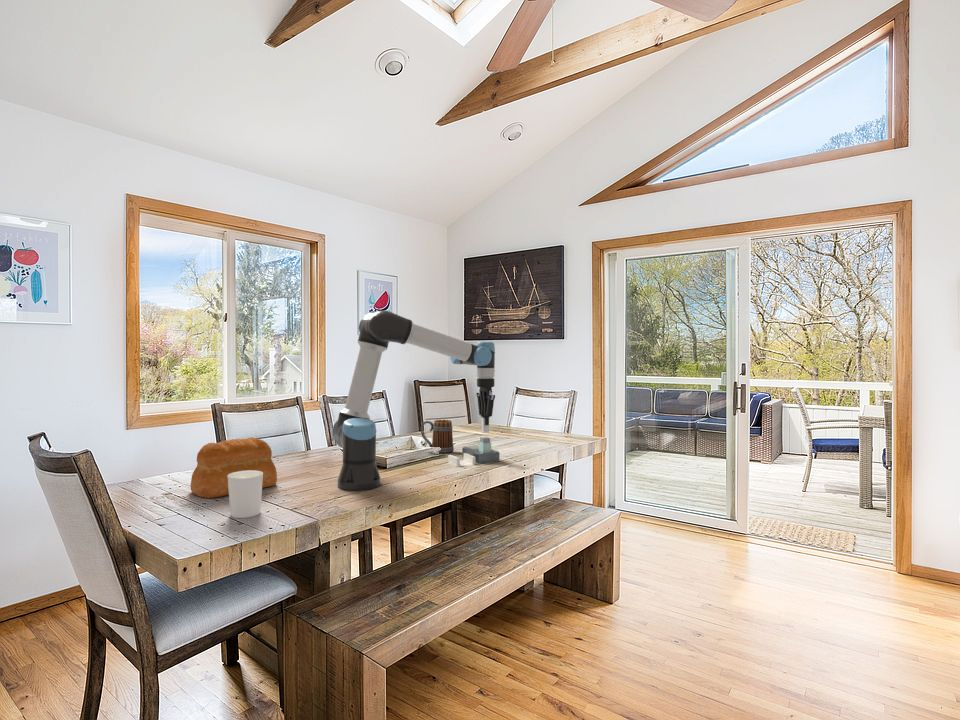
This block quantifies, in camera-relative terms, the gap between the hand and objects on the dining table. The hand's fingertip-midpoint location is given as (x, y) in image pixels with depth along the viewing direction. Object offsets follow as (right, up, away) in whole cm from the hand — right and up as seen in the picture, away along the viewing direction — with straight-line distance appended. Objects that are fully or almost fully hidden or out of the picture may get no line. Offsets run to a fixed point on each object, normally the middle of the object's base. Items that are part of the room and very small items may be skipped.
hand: (485, 432), depth 234 cm
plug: (0, -13, 0) cm, 13 cm away
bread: (-88, -14, -44) cm, 99 cm away
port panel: (-2, -13, +4) cm, 14 cm away
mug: (-22, -13, +22) cm, 34 cm away
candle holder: (-72, -15, -71) cm, 103 cm away
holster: (-10, -13, -5) cm, 17 cm away
